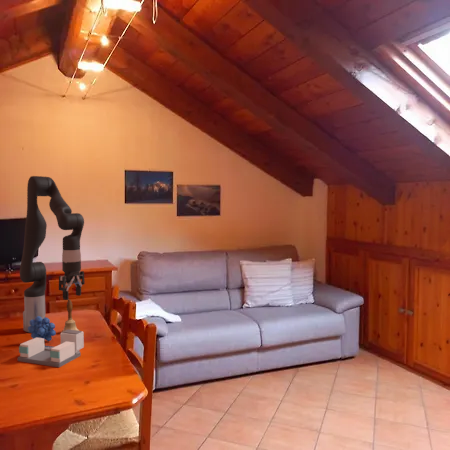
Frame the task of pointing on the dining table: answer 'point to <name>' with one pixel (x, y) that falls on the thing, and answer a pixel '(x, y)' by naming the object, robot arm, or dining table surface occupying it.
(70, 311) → the hand bell
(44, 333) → the grapes
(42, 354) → the rail board
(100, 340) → the dining table surface
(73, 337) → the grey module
